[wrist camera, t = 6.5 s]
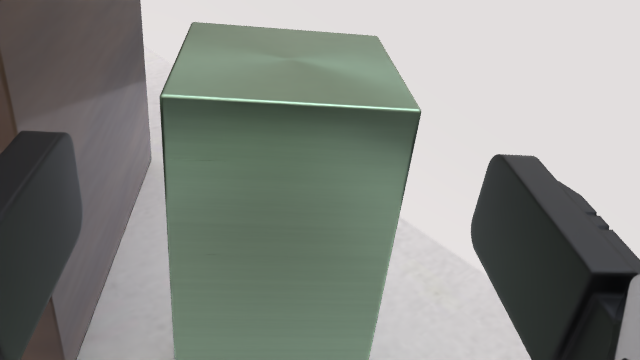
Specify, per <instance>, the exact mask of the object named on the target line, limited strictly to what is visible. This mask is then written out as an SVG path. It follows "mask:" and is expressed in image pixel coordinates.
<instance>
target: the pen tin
mask: <svg viewBox="0 0 640 360" xmlns="http://www.w3.org/2000/svg"><path fill="white" fill-rule="evenodd" d="M160 112H161V129H162V147H163V164H164V182H165V199H166V217H167V234H168V252H169V270H170V287H171V305H172V322H173V340H174V357H175V360H369V356H370V351H371V346H372V341H373V337H374V332H375V327H376V323H377V318H378V313H379V308H380V304H381V299H382V294H383V290H384V285H385V280H386V276H387V271H388V266H389V261H390V257H391V252H392V247H393V243H394V238H395V233H396V229H397V224H398V219H399V214H400V210H401V205H402V200H403V196H404V191H405V186H406V181H407V177H408V171H409V167H410V163H411V158H412V153H413V149H414V144H415V139H416V134H417V130H418V125H419V120H420V116H421V110H420V108H419V106H418V104H417V103H416V101H415V100H414V98H413V96H412V94H411V93H410V91H409V89H408V88H407V86H406V84H405V82H404V81H403V79H402V78H401V76H400V74H399V72H398V71H397V69H396V67H395V66H394V64H393V63H392V61H391V59H390V57H389V55H388V54H387V52H386V51H385V49H384V47H383V45H382V44H381V42H380V40H379V38H378V37H377V36H368V35H356V34H343V33H342V34H341V33H329V32H316V31H302V30H289V29H277V28H264V27H251V26H236V25H224V24H211V23H197V22H193V23H192V24H191V26H190V29H189V31H188V33H187V35H186V38H185V40H184V42H183V44H182V47H181V49H180V51H179V54H178V56H177V58H176V61H175V63H174V65H173V67H172V70H171V72H170V74H169V76H168V79H167V81H166V83H165V86H164V88H163V90H162V93H161V95H160Z"/></svg>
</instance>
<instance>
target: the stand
mask: <svg viewBox="0 0 640 360" xmlns="http://www.w3.org/2000/svg"><path fill="white" fill-rule="evenodd" d="M21 131H46V132H66V133H68V134H69V135H70V136H71V138H72V141H73V144H74V150H75V156H76V163H77V169H78V176H79V182H80V189H81V195H82V202H83V224H82V230H81V234H80V237H79V239H78V241H77V243H76V245H75V247H74V250H73V252H72V254H71V256H70V258H69V260H68V262H67V264H66V266H65V268H64V270H63V272H62V275H61V277H60V279H59V281H58V283H57V285H56V287H55V289H54V291H53V293H52V295H51V297H50V299H49V302H48V304H47V306H46V308H45V310H44V312H43V314H42V316H41V318H40V320H39V322H38V324H37V327H36V329H35V331H34V333H33V335H32V337H31V339H30V341H29V343H28V345H27V347H26V349H25V351H24V354H23V356H22V358H21V360H76V358H77V355H78V352H79V350H80V347H81V344H82V342H83V339H84V336H85V334H86V331H87V328H88V326H89V323H90V320H91V318H92V315H93V312H94V310H95V307H96V304H97V302H98V299H99V297H100V294H101V291H102V289H103V286H104V283H105V281H106V278H107V275H108V273H109V270H110V267H111V265H112V262H113V259H114V257H115V254H116V251H117V249H118V246H119V243H120V241H121V238H122V235H123V233H124V230H125V227H126V225H127V222H128V219H129V217H130V214H131V211H132V209H133V206H134V203H135V201H136V198H137V195H138V193H139V190H140V187H141V185H142V182H143V179H144V177H145V174H146V171H147V169H148V166H149V164H150V161H151V147H150V132H149V118H148V104H147V89H146V75H145V61H144V47H143V33H142V19H141V4H140V0H0V154H1V153H2V152H3V151H4V150H5V148H6V147H7V146H8V145H9V144H10V143H11V141H12V140H13V139H14V138H15V137H16V136H17V135H18V133H20V132H21Z"/></svg>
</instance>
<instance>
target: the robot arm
mask: <svg viewBox="0 0 640 360" xmlns="http://www.w3.org/2000/svg"><path fill="white" fill-rule="evenodd" d="M82 224H83V202H82V195H81V189H80V182H79V176H78V169H77V163H76V156H75V150H74V144H73V141H72V138H71V136H70V135H69V134H68V133H66V132H46V131H21V132H20V133H18V135H17V136H16V137H15V138H14V139H13V140H12V141H11V143H10V144H9V145H8V146H7V147H6V148H5V150H4V151H3V152H2V153H1V154H0V360H21V358H22V356H23V354H24V351H25V349H26V347H27V345H28V343H29V341H30V339H31V337H32V335H33V333H34V331H35V329H36V327H37V324H38V322H39V320H40V318H41V316H42V314H43V312H44V310H45V308H46V306H47V304H48V302H49V299H50V297H51V295H52V293H53V291H54V289H55V287H56V285H57V283H58V281H59V279H60V277H61V275H62V272H63V270H64V268H65V266H66V264H67V262H68V260H69V258H70V256H71V254H72V252H73V250H74V247H75V245H76V243H77V241H78V239H79V237H80V234H81V230H82ZM471 238H472V243H473V247H474V250H475V252H476V254H477V255H478V257H479V259H480V261H481V263H482V265H483V267H484V269H485V271H486V273H487V275H488V277H489V279H490V281H491V282H492V284H493V286H494V288H495V290H496V292H497V294H498V296H499V298H500V300H501V302H502V304H503V306H504V307H505V309H506V311H507V313H508V315H509V317H510V319H511V321H512V323H513V325H514V327H515V329H516V331H517V332H518V334H519V336H520V338H521V340H522V342H523V344H524V346H525V348H526V350H527V352H528V354H529V355H530V357H531V359H532V360H640V260H639V258H637V256H636V255H635V254H634V253H633V252H632V251H631V250H630V249H629V247H628V246H627V245H626V244H625V243H624V242H623V241H622V240H621V239H620V238H619V236H618V235H617V234H616V233H615V232H614V231H613V230H609V225H608V224H607V223H606V222H605V221H604V220H603V219H602V218H601V217H600V216H597V215H596V211H595V210H594V209H593V208H592V207H591V206H590V205H589V204H588V202H587V201H586V200H585V199H584V198H583V197H582V196H581V195H579V194H578V193H576V192H575V191H573V190H571V189H570V188H569V187H567V186H565V185H564V184H562V183H561V182H559V181H557V180H556V179H555V178H554V177H553V175H552V174H551V173H550V172H549V171H548V170H547V169H546V167H545V166H544V165H543V164H542V163H541V162H540V161H539V159H538V158H536V157H534V156H522V155H521V156H520V155H500V154H498V155H495V156H494V157H493V158H492V159H491V161H490V163H489V165H488V168H487V171H486V175H485V178H484V182H483V185H482V188H481V192H480V195H479V198H478V202H477V205H476V209H475V212H474V215H473V219H472V224H471Z"/></svg>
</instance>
